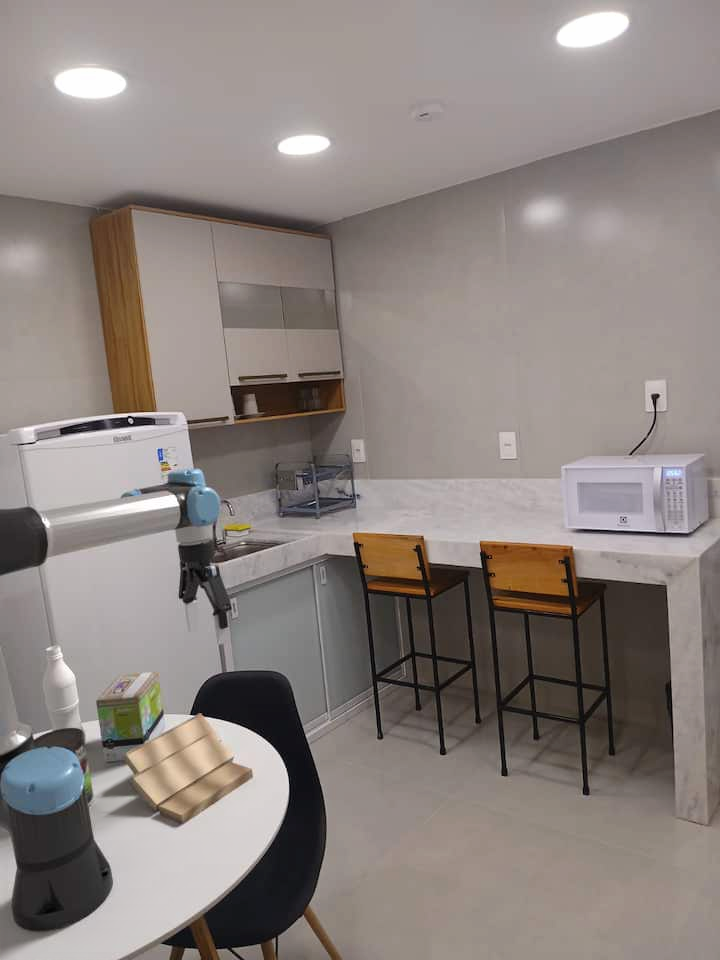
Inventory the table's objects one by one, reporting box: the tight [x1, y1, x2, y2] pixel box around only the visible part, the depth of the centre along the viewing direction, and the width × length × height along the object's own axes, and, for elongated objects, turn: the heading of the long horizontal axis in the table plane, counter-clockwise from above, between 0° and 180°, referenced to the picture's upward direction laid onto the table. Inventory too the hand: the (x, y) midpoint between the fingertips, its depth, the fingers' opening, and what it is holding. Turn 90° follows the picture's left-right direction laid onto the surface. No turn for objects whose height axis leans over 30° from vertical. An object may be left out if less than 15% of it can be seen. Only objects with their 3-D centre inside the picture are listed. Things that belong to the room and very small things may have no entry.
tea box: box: [95, 671, 167, 763], centre depth 170 cm, size 15×10×15 cm
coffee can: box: [34, 728, 95, 807], centre depth 147 cm, size 10×10×14 cm
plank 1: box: [123, 712, 222, 775], centre depth 159 cm, size 20×8×2 cm
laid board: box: [158, 761, 254, 825], centre depth 145 cm, size 18×7×2 cm, turn 142°
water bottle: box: [41, 645, 87, 744], centre depth 171 cm, size 7×7×25 cm
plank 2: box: [130, 732, 235, 812], centre depth 151 cm, size 20×8×2 cm, turn 142°
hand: (209, 636), depth 161 cm, fingers open, 13 cm apart
